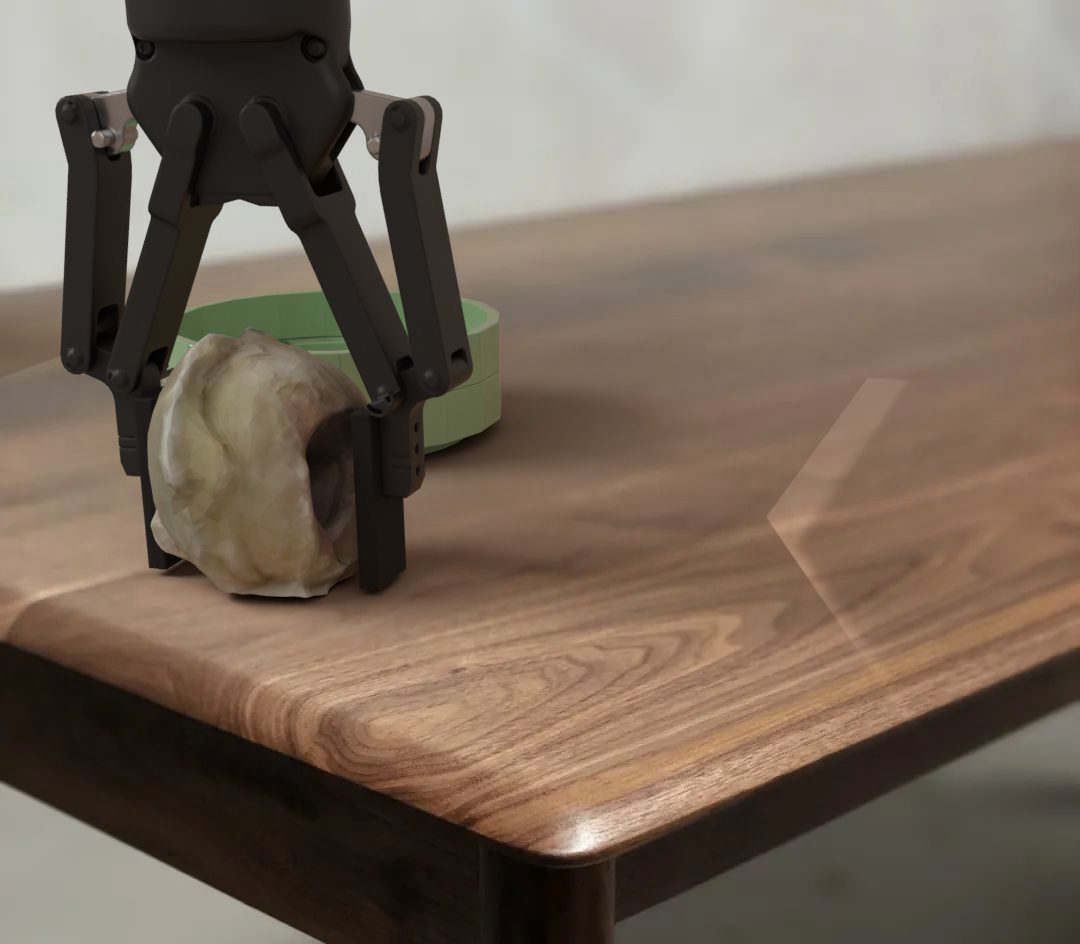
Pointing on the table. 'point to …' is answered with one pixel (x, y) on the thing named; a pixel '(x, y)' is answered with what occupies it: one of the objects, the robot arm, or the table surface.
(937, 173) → the table surface
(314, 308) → the bowl
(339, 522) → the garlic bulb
